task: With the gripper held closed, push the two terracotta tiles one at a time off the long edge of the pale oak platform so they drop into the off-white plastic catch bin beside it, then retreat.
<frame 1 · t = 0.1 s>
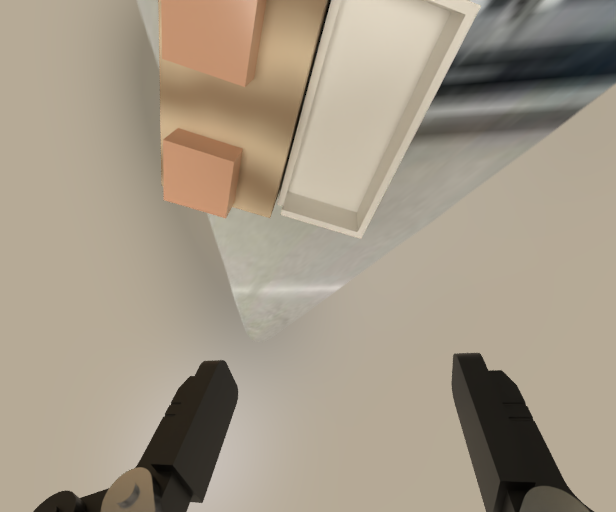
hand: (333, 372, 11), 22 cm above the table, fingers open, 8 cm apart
tile outer: (208, 167, 26), point 5 cm above the table, touching platform
catch bin: (353, 116, 27), on the table
tile inner: (221, 20, 19), point 5 cm above the table, touching platform
platform: (247, 79, 26), on the table
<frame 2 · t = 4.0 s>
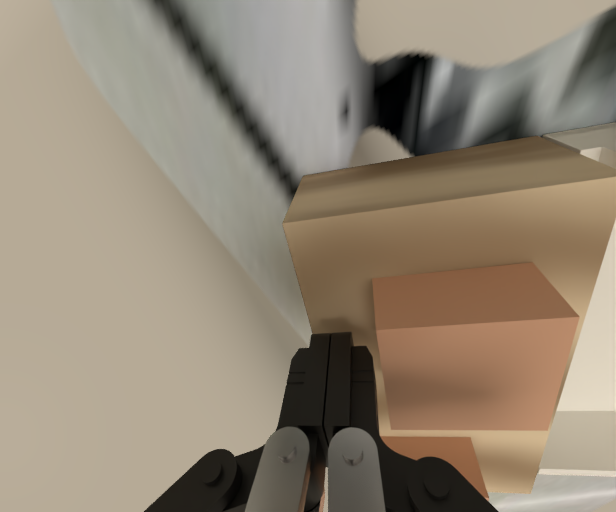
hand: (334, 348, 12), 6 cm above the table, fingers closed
tile outer: (418, 462, 17), point 5 cm above the table, touching platform
catch bin: (608, 301, 16), on the table
tile inner: (447, 325, 12), point 5 cm above the table, touching gripper
platform: (418, 314, 18), on the table
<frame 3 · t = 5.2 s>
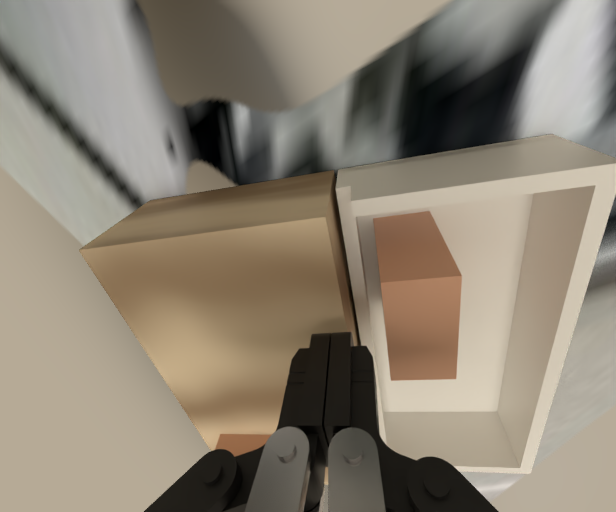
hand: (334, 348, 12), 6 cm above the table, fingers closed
tile outer: (272, 458, 19), point 5 cm above the table, touching platform
catch bin: (437, 313, 18), on the table
tile inner: (381, 294, 14), point 3 cm above the table, tilted 90°, touching catch bin
platform: (280, 323, 20), on the table
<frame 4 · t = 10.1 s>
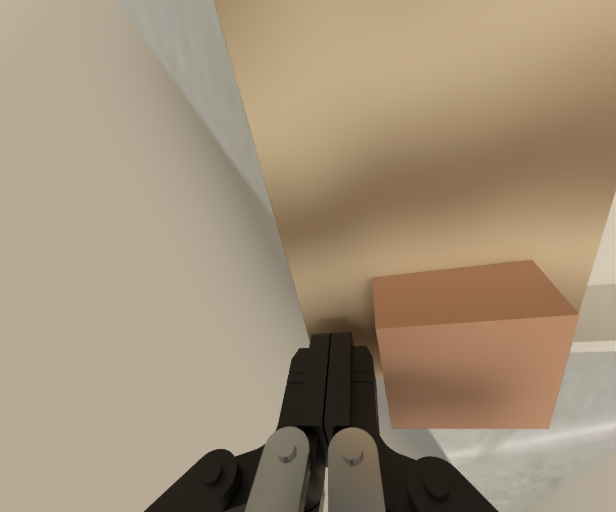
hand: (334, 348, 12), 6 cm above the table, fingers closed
tile outer: (448, 324, 12), point 5 cm above the table, touching gripper, platform
platform: (405, 133, 13), on the table
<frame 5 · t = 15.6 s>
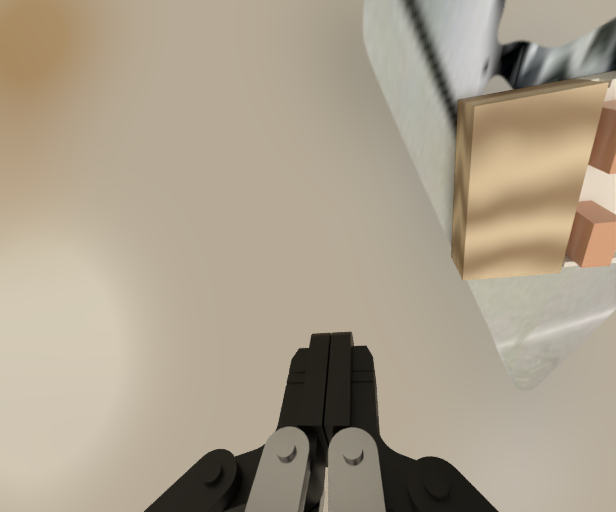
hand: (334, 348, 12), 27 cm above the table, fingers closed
tile outer: (572, 234, 33), point 3 cm above the table, tilted 90°, touching catch bin
catch bin: (601, 168, 32), on the table
tile inner: (598, 138, 28), point 3 cm above the table, tilted 90°, touching catch bin
platform: (501, 182, 34), on the table
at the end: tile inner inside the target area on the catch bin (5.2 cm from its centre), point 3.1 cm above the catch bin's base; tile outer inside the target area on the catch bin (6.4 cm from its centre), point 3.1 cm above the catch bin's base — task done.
